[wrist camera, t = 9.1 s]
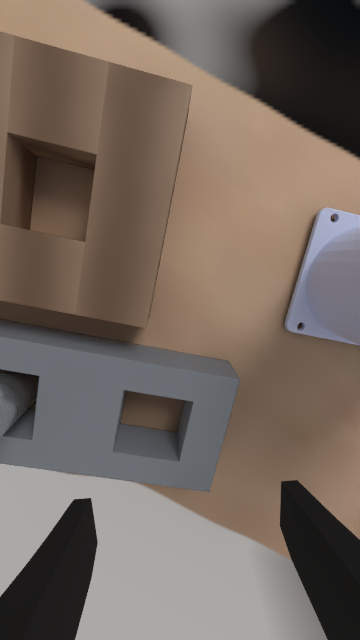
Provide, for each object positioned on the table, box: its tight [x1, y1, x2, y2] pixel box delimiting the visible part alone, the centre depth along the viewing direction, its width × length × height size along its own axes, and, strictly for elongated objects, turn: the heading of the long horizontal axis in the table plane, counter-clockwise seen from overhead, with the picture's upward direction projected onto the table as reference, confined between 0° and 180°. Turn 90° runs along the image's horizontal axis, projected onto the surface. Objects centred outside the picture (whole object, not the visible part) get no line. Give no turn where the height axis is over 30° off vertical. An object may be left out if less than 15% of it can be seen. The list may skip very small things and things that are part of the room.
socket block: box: [0, 32, 192, 328], centre depth 15 cm, size 12×12×3 cm
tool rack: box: [0, 319, 240, 492], centre depth 18 cm, size 18×8×3 cm, turn 78°
